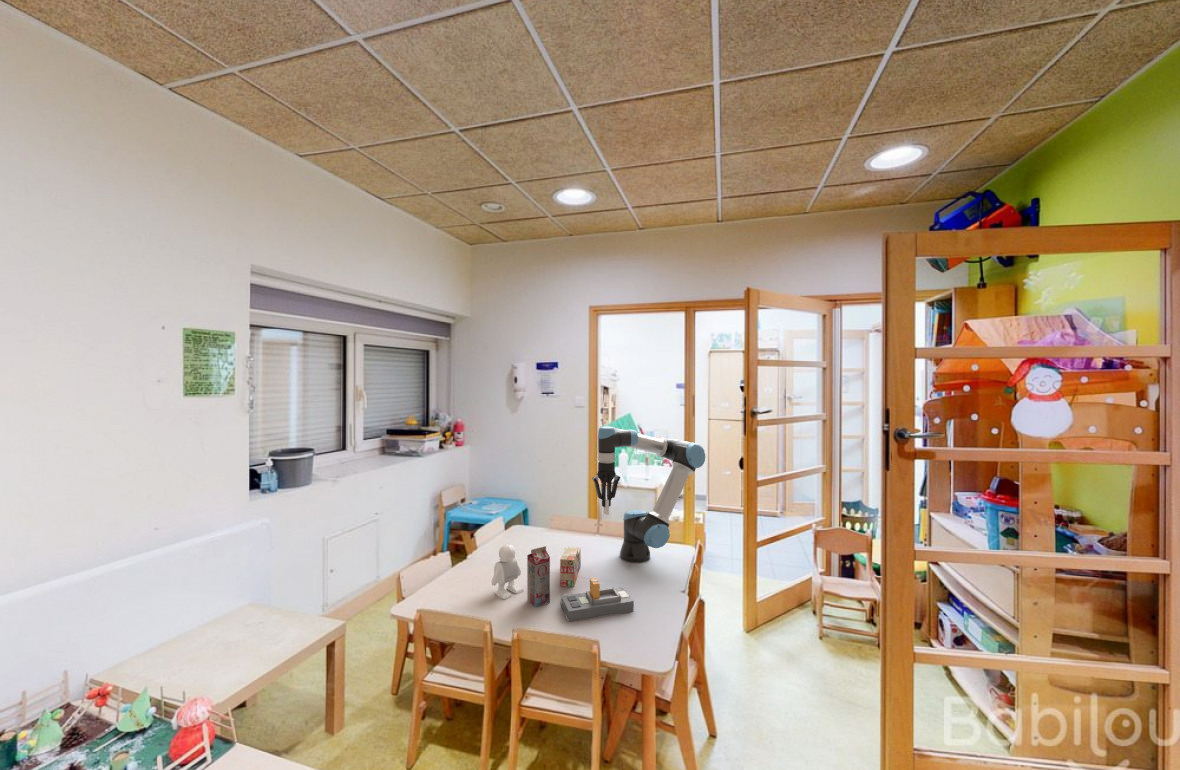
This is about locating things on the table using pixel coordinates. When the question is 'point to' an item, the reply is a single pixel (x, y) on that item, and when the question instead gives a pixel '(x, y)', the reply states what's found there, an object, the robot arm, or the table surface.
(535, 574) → the juice carton
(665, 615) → the table surface
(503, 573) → the toy robot
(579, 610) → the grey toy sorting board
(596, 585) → the breaker lever
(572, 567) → the stack of blocks
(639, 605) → the table surface
